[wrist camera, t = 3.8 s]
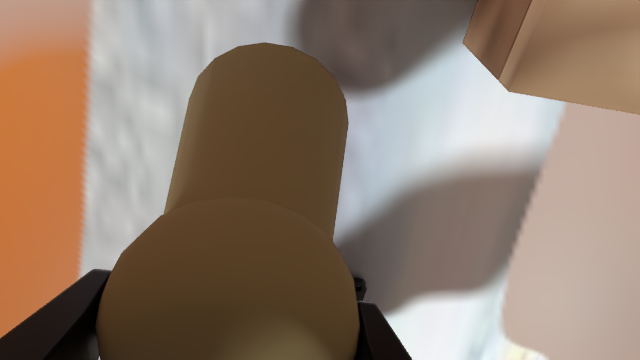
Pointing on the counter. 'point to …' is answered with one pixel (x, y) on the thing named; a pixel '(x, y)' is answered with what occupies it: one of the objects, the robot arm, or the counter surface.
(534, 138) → the counter surface
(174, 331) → the brown bottle
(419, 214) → the counter surface
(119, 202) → the counter surface
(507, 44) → the toolbox
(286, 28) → the counter surface
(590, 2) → the lid
